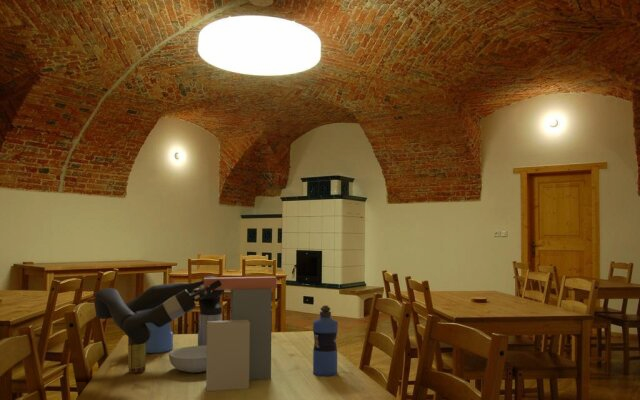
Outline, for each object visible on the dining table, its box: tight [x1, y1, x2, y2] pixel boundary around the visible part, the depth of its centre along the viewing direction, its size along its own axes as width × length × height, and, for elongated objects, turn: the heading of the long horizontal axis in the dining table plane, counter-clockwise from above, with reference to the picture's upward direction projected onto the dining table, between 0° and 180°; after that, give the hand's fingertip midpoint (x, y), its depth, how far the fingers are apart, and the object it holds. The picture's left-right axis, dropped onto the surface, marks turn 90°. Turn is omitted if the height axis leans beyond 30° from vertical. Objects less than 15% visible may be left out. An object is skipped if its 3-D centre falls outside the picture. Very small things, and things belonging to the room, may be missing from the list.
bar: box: [203, 276, 277, 291], centre depth 198 cm, size 26×4×4 cm, turn 104°
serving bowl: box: [168, 345, 207, 374], centre depth 207 cm, size 21×21×7 cm
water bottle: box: [312, 305, 339, 378], centre depth 203 cm, size 9×9×25 cm
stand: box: [205, 288, 273, 392], centre depth 192 cm, size 23×18×32 cm
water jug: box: [136, 309, 174, 354], centre depth 240 cm, size 16×16×28 cm
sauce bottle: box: [127, 336, 147, 374], centre depth 204 cm, size 6×6×20 cm
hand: (219, 280), depth 196 cm, fingers open, 8 cm apart
